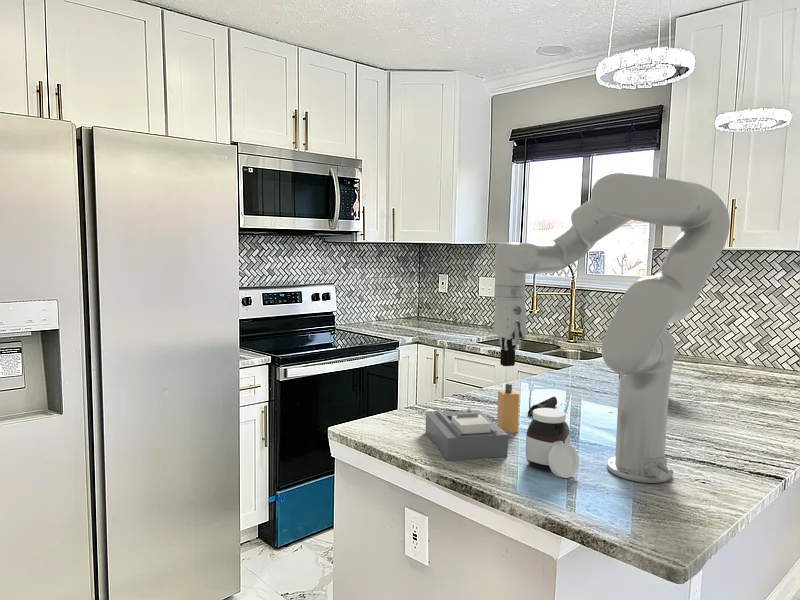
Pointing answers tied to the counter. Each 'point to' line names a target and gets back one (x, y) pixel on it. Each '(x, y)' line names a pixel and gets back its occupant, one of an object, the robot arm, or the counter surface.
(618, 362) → the robot arm
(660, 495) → the counter surface
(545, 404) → the electric trimmer
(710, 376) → the counter surface
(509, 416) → the plug
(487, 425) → the shutter
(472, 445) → the socket
